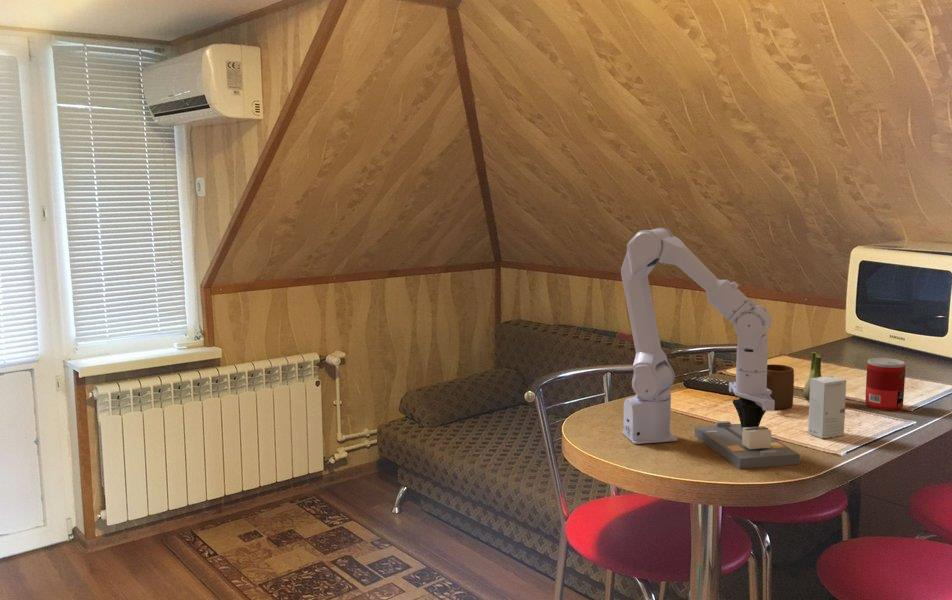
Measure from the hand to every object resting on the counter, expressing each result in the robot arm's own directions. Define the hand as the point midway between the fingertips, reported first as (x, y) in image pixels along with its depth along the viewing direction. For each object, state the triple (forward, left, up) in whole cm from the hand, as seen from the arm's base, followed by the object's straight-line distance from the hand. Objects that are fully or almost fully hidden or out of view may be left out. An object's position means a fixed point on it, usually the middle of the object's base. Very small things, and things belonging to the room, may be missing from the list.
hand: (749, 436), depth 156 cm
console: (0, +2, -3) cm, 4 cm away
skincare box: (+21, +7, -4) cm, 22 cm away
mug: (+20, +28, -4) cm, 35 cm away
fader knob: (0, -3, -1) cm, 3 cm away
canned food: (+46, +23, -4) cm, 52 cm away
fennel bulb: (+33, +31, -4) cm, 45 cm away
